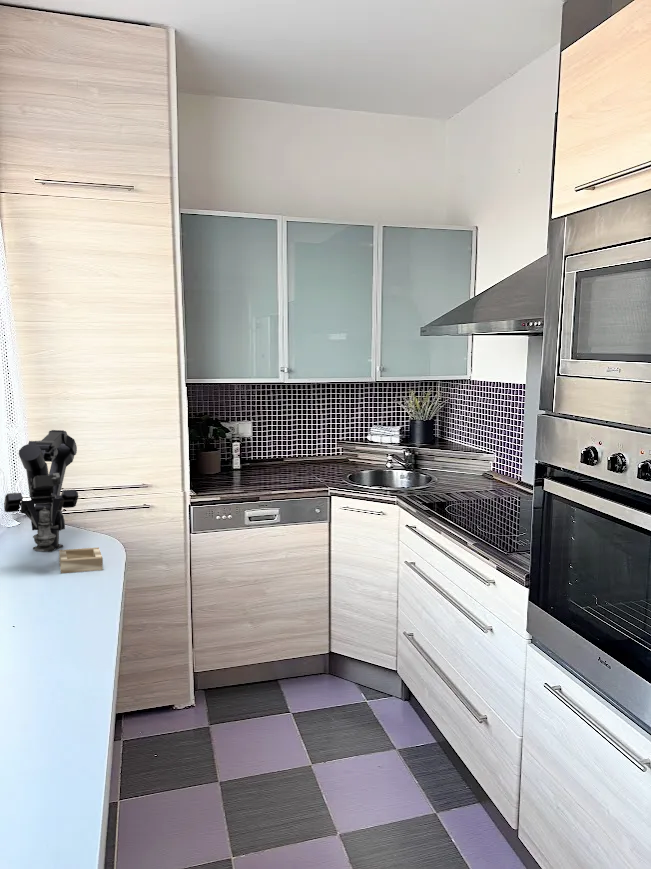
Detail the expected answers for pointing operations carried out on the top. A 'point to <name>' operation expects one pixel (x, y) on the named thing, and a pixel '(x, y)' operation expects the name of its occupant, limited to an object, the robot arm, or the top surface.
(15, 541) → the top surface
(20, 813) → the top surface
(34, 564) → the top surface
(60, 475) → the robot arm
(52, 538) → the weathered stone finial
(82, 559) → the shaker caddy
